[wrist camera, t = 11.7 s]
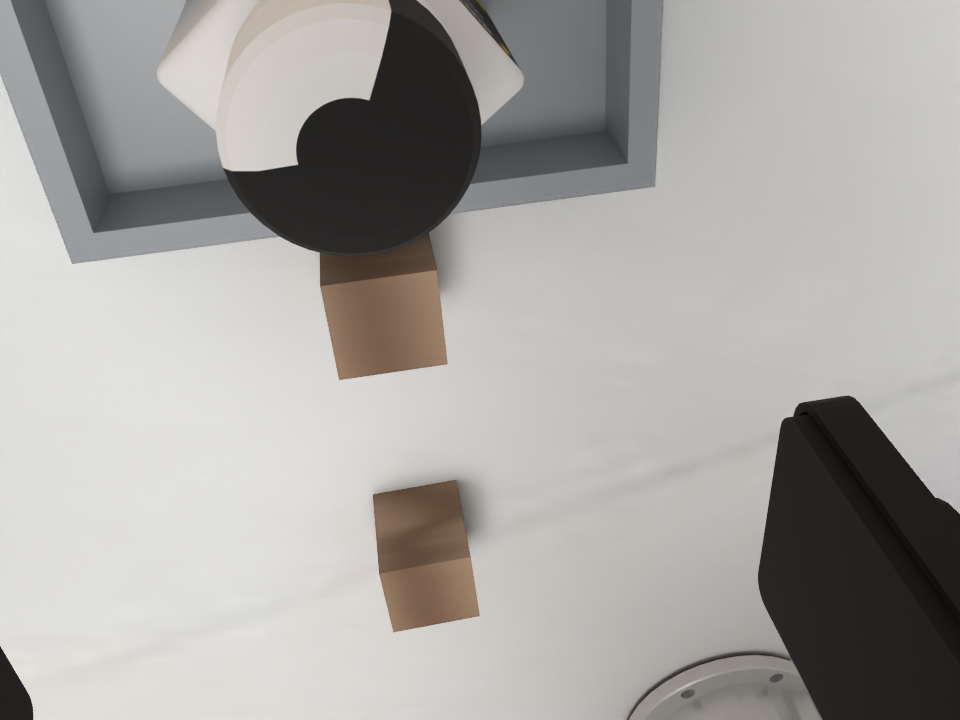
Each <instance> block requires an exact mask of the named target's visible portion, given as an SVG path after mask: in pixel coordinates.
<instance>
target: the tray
mask: <svg viewBox="0 0 960 720" xmlns="http://www.w3.org/2000/svg"><path fill="white" fill-rule="evenodd" d="M187 1H188V0H0V75H1V77H2V80H3V83H4V85H5V88H6V90H7V93H8V96H9V98H10V101H11V104H12V106H13V109H14V112H15V114H16V117H17V119H18V122H19V125H20V127H21V130H22V133H23V135H24V138H25V141H26V143H27V146H28V149H29V151H30V154H31V156H32V159H33V162H34V164H35V167H36V170H37V172H38V175H39V178H40V180H41V183H42V185H43V188H44V191H45V193H46V196H47V199H48V201H49V204H50V207H51V209H52V212H53V215H54V217H55V220H56V222H57V225H58V228H59V230H60V233H61V236H62V238H63V241H64V244H65V246H66V249H67V251H68V254H69V257H70V259H71V262H72V264H75V263H83V262H90V261H98V260H105V259H113V258H121V257H128V256H136V255H143V254H151V253H158V252H166V251H173V250H181V249H188V248H196V247H203V246H211V245H218V244H226V243H234V242H241V241H249V240H256V239H264V238H271V237H279V236H278V235H277V234H275V233H274V232H273V231H271V230H270V229H268V228H267V227H266V226H264V225H263V224H262V223H261V222H260V221H259V220H258V219H257V218H255V217H254V216H253V215H252V214H251V213H250V212H249V210H248V209H247V208H246V207H245V206H244V204H243V203H242V202H241V201H240V200H239V198H238V196H237V195H236V193H235V191H234V190H233V188H232V187H231V185H230V183H229V181H228V178H227V176H226V174H225V172H224V169H223V167H222V163H221V159H220V156H219V152H218V146H217V138H216V131H215V130H214V129H212V128H211V127H210V126H209V125H208V124H207V123H205V122H204V121H203V120H202V119H201V118H200V117H198V116H197V115H196V114H195V113H194V112H192V111H191V110H190V109H189V108H188V107H187V106H185V105H184V104H183V103H182V102H181V101H180V100H178V99H177V98H176V97H175V96H174V95H173V94H171V93H170V92H169V91H168V90H167V89H166V88H164V87H163V86H162V85H161V83H160V82H159V80H158V79H157V72H156V71H157V68H158V66H159V64H160V62H161V59H162V57H163V55H164V52H165V50H166V48H167V45H168V43H169V41H170V38H171V36H172V34H173V32H174V29H175V27H176V25H177V22H178V20H179V18H180V15H181V13H182V11H183V9H184V6H185V4H186V2H187ZM478 2H479V3H480V4H481V5H482V6H483V7H484V9H485V10H486V11H487V13H488V15H489V16H490V18H491V20H492V22H493V23H494V25H495V27H496V28H497V30H498V32H499V34H500V35H501V37H502V39H503V40H504V42H505V44H506V46H507V47H508V49H509V51H510V52H511V54H512V56H513V57H514V59H515V61H516V63H517V64H518V66H519V68H520V69H521V71H522V73H523V76H524V83H523V86H522V88H521V89H520V91H518V92H517V93H516V94H515V95H514V96H513V97H512V98H511V99H510V100H509V101H507V102H506V103H505V104H504V105H503V106H502V107H501V108H500V109H499V110H498V111H497V112H495V113H494V114H493V115H492V116H491V117H490V118H489V119H488V120H487V121H486V122H484V123H483V124H482V125H481V132H482V140H481V148H480V156H479V160H478V163H477V167H476V171H475V173H474V176H473V178H472V180H471V183H470V185H469V187H468V189H467V191H466V192H465V194H464V196H463V197H462V199H461V201H460V202H459V203H458V205H457V206H456V207H455V208H454V210H453V211H452V212H451V213H450V214H452V213H460V212H467V211H475V210H482V209H490V208H497V207H505V206H512V205H520V204H527V203H535V202H542V201H550V200H557V199H565V198H573V197H580V196H588V195H595V194H603V193H610V192H618V191H625V190H633V189H640V188H648V187H655V175H656V152H657V128H658V105H659V82H660V59H661V36H662V12H663V0H478Z"/></svg>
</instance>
